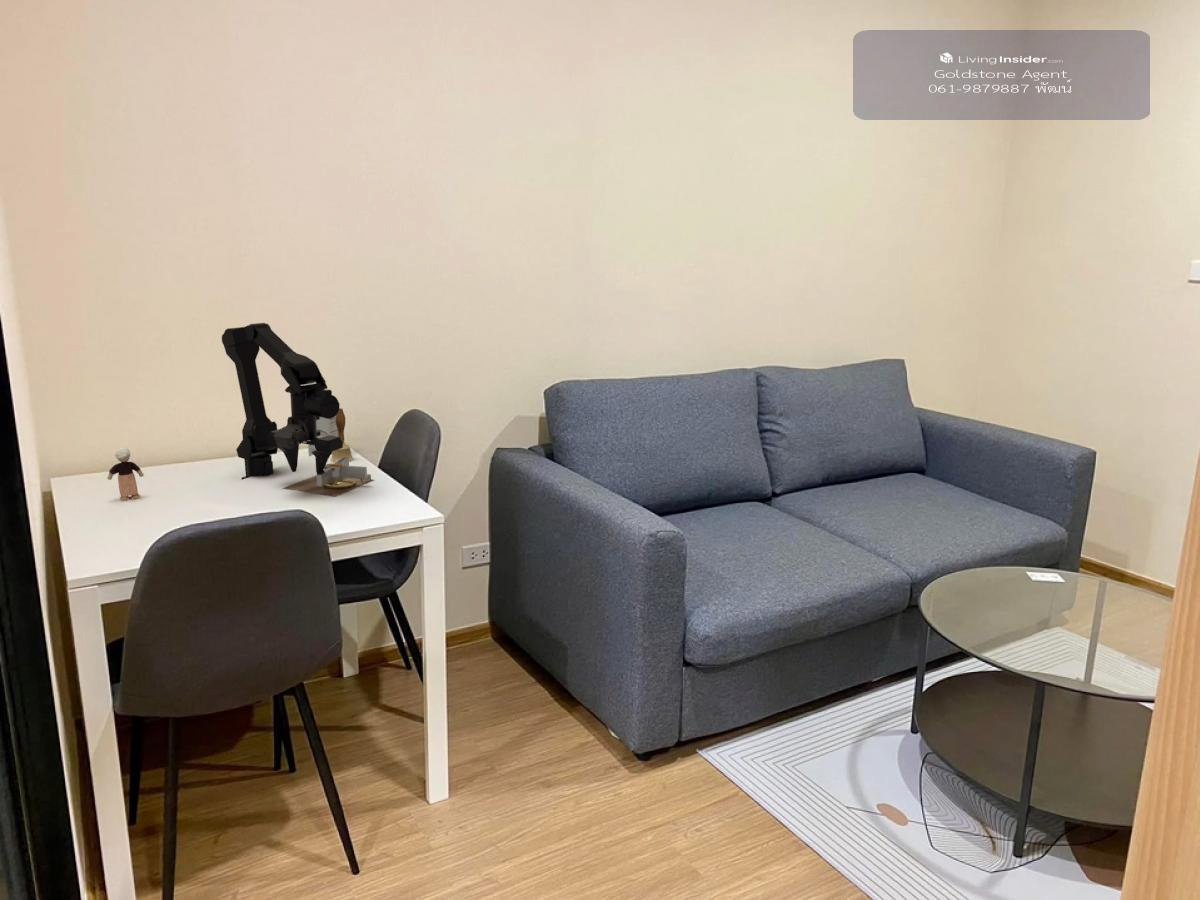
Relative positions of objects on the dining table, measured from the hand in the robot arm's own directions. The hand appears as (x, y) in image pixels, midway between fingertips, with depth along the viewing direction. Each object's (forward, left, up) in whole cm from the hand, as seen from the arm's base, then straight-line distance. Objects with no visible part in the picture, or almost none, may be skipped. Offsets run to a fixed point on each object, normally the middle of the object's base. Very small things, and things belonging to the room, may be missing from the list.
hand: (306, 473), depth 229 cm
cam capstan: (+7, +6, -3) cm, 10 cm away
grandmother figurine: (-36, -22, -5) cm, 42 cm away
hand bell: (-9, +25, -5) cm, 27 cm away
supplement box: (-20, +32, -5) cm, 38 cm away
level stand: (+3, +5, -5) cm, 8 cm away
